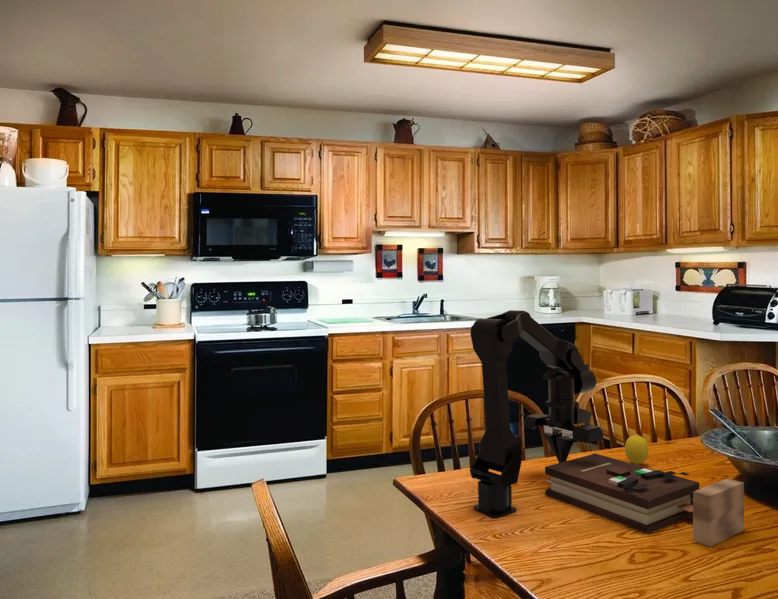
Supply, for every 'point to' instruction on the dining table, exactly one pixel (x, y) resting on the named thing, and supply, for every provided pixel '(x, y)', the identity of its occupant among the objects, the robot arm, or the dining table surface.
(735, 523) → the bookend
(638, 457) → the lemon
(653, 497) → the decorative book
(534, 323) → the robot arm
